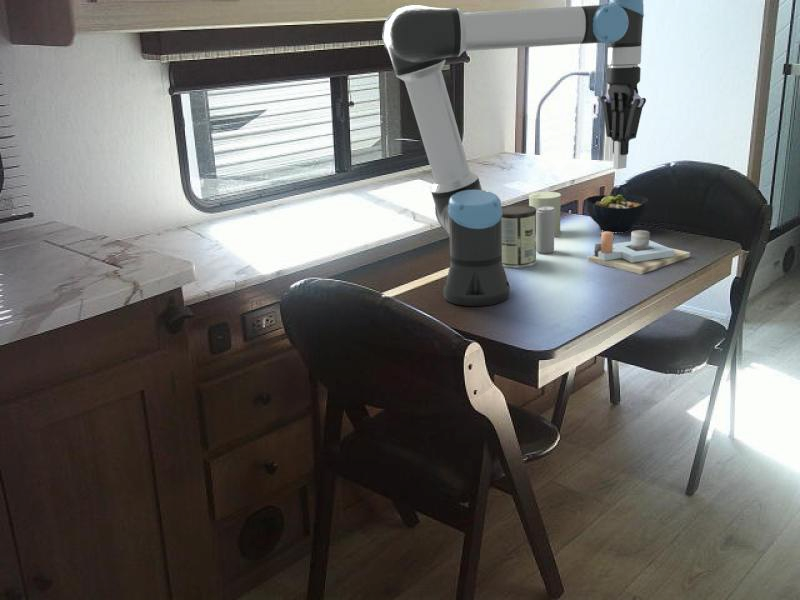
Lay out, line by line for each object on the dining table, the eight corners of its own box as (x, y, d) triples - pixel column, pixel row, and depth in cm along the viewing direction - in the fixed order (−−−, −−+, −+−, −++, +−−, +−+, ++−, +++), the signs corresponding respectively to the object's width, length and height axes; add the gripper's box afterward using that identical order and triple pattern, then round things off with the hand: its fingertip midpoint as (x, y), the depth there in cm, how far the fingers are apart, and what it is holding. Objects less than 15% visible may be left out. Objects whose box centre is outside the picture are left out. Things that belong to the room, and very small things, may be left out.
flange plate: (646, 244, 210) (647, 220, 207) (674, 256, 199) (675, 230, 196) (588, 253, 205) (589, 228, 203) (614, 265, 194) (615, 239, 192)
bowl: (649, 236, 222) (651, 201, 219) (586, 237, 225) (587, 202, 222) (642, 222, 238) (644, 189, 235) (583, 222, 241) (584, 190, 238)
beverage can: (553, 249, 215) (553, 205, 211) (554, 254, 211) (555, 210, 207) (535, 249, 216) (535, 206, 212) (536, 254, 211) (536, 210, 208)
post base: (641, 274, 191) (642, 246, 189) (588, 261, 203) (589, 234, 201) (689, 256, 203) (691, 230, 200) (637, 245, 215) (638, 220, 212)
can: (523, 232, 234) (523, 192, 230) (551, 228, 237) (551, 188, 233) (537, 239, 226) (537, 197, 222) (566, 235, 228) (567, 194, 224)
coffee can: (505, 255, 213) (505, 203, 208) (542, 259, 208) (542, 206, 203) (489, 265, 204) (488, 212, 200) (527, 270, 199) (527, 215, 195)
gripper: (656, 65, 179) (651, 169, 187) (616, 64, 190) (613, 162, 198) (631, 67, 176) (627, 173, 184) (592, 66, 187) (589, 166, 195)
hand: (619, 167), depth 191 cm, fingers closed
